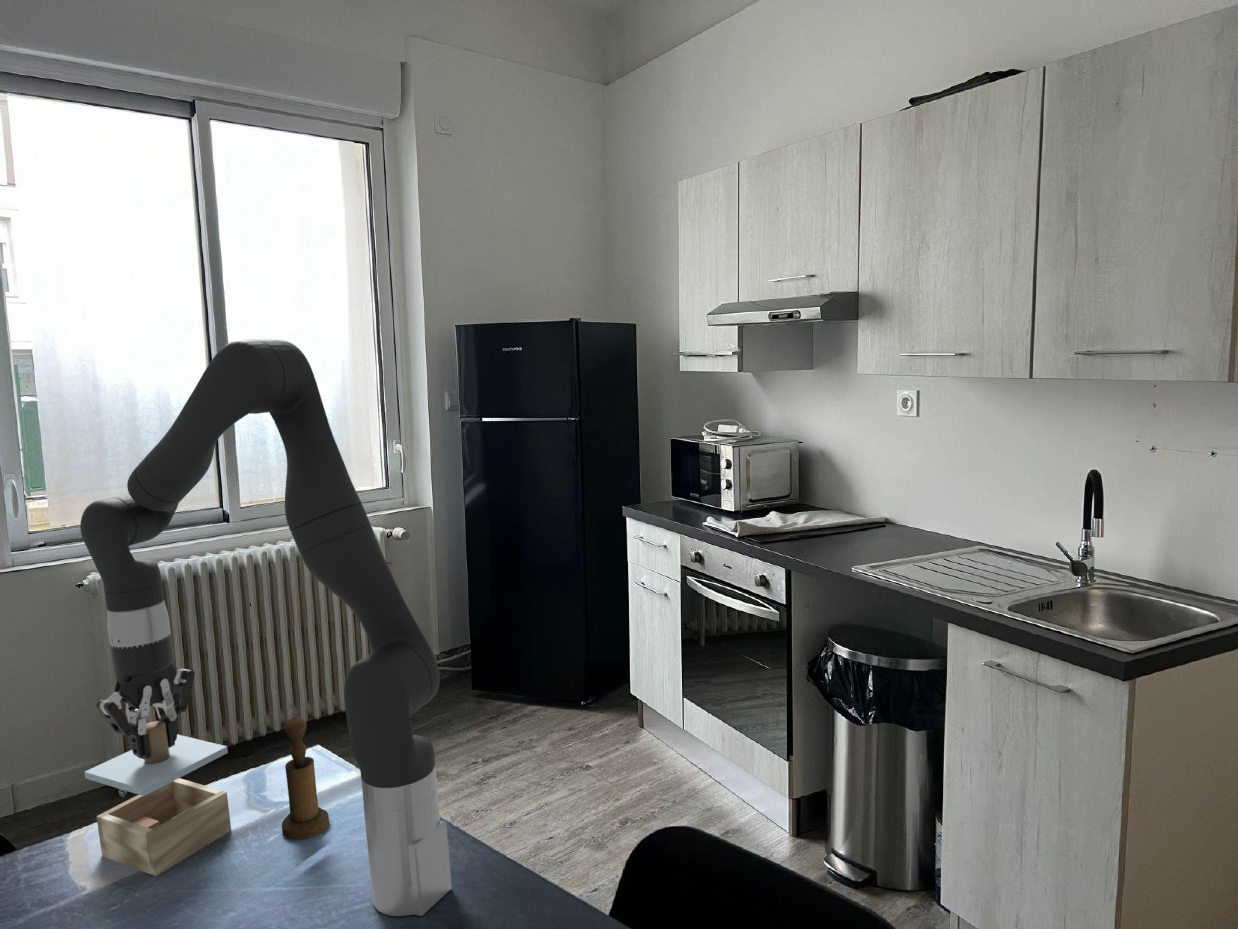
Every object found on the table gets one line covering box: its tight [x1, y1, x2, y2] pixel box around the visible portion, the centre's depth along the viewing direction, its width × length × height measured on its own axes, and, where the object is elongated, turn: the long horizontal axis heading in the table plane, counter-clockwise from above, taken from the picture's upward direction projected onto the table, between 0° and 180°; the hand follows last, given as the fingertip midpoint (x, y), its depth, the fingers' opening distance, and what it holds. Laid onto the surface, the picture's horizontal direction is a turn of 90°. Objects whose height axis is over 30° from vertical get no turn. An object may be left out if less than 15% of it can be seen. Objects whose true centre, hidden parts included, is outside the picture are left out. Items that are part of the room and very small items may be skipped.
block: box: [132, 816, 160, 830], centre depth 123 cm, size 4×4×4 cm
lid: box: [84, 720, 229, 796], centre depth 122 cm, size 13×13×6 cm
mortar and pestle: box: [281, 716, 330, 841], centre depth 125 cm, size 7×6×18 cm
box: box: [96, 777, 232, 877], centre depth 124 cm, size 12×12×7 cm
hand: (156, 751), depth 122 cm, fingers closed on lid, 3 cm apart
